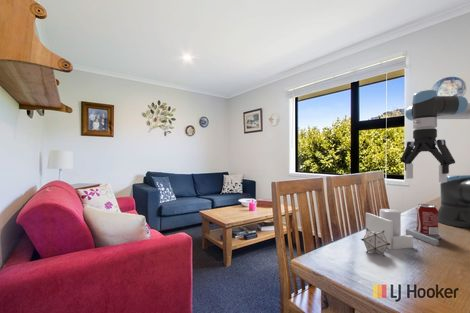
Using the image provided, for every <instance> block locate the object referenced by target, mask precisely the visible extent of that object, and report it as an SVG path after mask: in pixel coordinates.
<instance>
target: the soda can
mask: <svg viewBox="0 0 470 313" xmlns="http://www.w3.org/2000/svg"><path fill="white" fill-rule="evenodd" d="M415 209H416V210H415V212H416V213H415V215H416V216H415V217H416V221H415V224H416V225H415V227H416V229H415V230H416V231H417V232H418V233H421V234H423V235H426V236H436V235H439V222H438V211H439V209H437V206H436V205H434V204H430V203H418V204H417V207H415Z"/></svg>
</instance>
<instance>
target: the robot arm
mask: <svg viewBox="0 0 470 313" xmlns="http://www.w3.org/2000/svg"><path fill="white" fill-rule="evenodd" d="M437 93H438V92H437V91H436V90H434V89H425V90H420V91H418V92H415V93H414V94H413V96H412V105H410V106H408V107H407V108H406V109H405V113H404V114H405V117H406V119H408V120H409V121H412V129H413V131H412V138H413V139H414V141H406V147H405V148H404V149H405V150H404V151H403V154H402V156H401V158H400V160H399V162H400V163H403V164H404V171H406V172H405V176H406V177H405V178H406V179H409V180H410V179H414V163H412V162H413V161H414V160H415V158H416V157H417V156H418V155H419V154H420V153H422V152H429V153H431V155H432V156H433V157H434V158H435V159H436V161H437V162H438V163H439V165H438V183H440V207H439V209H438V223H440V224H443V225H447V226H452V227H458V228H465V229H466V228H467V229H470V175H469V174H468V175H466V174H465V175H460V174H459V175H448V174H449V173H450V165H452V164H453V165H454V164H456V160H455V159H454V157H453V155H452V154H451V151H450V149H449V148H448V146H447V144H446V140H445V139H437V138H438V129H437V127H438V120H470V102H469V101H468V99H467V98H466V97H465V96H461V95H440V96H439V95H438V94H437Z"/></svg>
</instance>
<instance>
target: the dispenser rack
mask: <svg viewBox="0 0 470 313" xmlns="http://www.w3.org/2000/svg"><path fill="white" fill-rule="evenodd" d="M401 216H402V215H401V211H400V210H397V209H393V208H392V209H391V208H380V209H379V216H378V215H375V214H373V213H370V212H365V233H366V232H367V229H368V230H371V231H377V232H382V231H384V233H383V234H384V236H385V238H386V240H387V242H388V243H390V245H387V247H386V249H388V250H397V249H398V250H400V249H408V248H409V249H411V248H412V249H413V248H414V238H415V239H418V240H420V241H422V242H426V243H428V244H431V245H433V246H439V239H435V238H432V237H429V236H426V235H423V234H421V233H418V232H415V231H412V230H413V229H409V228H407V229H405V235H401V230H402V229H401V228H402V226H401V225H402V224H401V220H402V219H401V218H402V217H401ZM366 228H367V229H366Z"/></svg>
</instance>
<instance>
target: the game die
mask: <svg viewBox="0 0 470 313" xmlns="http://www.w3.org/2000/svg"><path fill="white" fill-rule="evenodd" d="M366 229H367V228H366V227H365V230H366ZM383 233H384V231H382V232H377V231H371V230H368V229H367V232H366V231H365V235H364V236H363V238H360V240H361V241H363V243H364V245H365V246H364V247H365V248H366V251H365V254H368V253H369V252H370V253H374V254H379V255H382V257H386V255H385V251H386V250H387V248H386V247H387V245H390V243H388V242H387V240H386V238H385V236H384V234H383Z"/></svg>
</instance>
